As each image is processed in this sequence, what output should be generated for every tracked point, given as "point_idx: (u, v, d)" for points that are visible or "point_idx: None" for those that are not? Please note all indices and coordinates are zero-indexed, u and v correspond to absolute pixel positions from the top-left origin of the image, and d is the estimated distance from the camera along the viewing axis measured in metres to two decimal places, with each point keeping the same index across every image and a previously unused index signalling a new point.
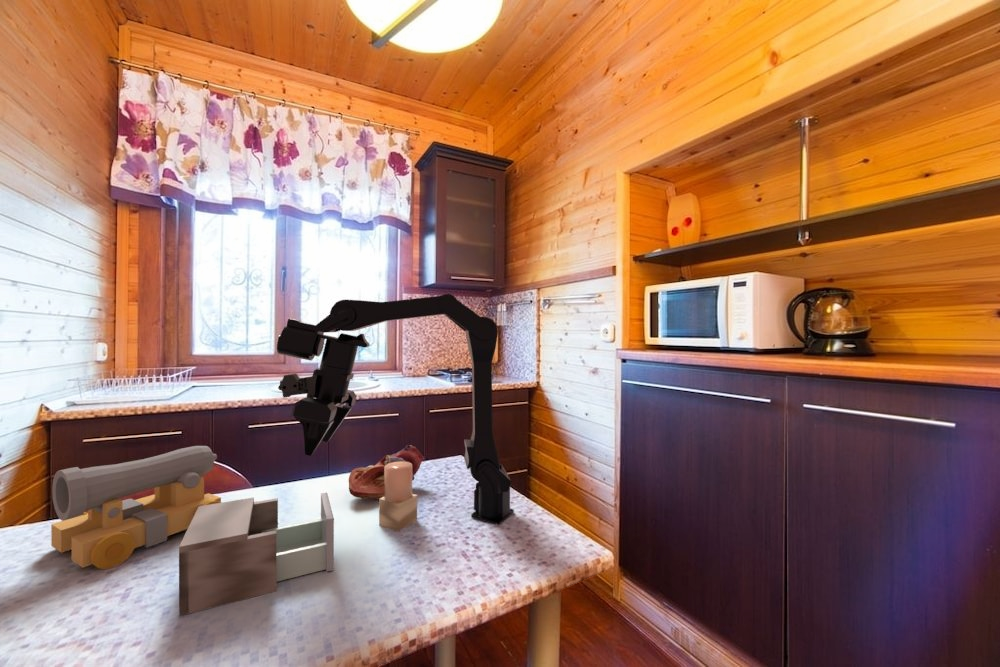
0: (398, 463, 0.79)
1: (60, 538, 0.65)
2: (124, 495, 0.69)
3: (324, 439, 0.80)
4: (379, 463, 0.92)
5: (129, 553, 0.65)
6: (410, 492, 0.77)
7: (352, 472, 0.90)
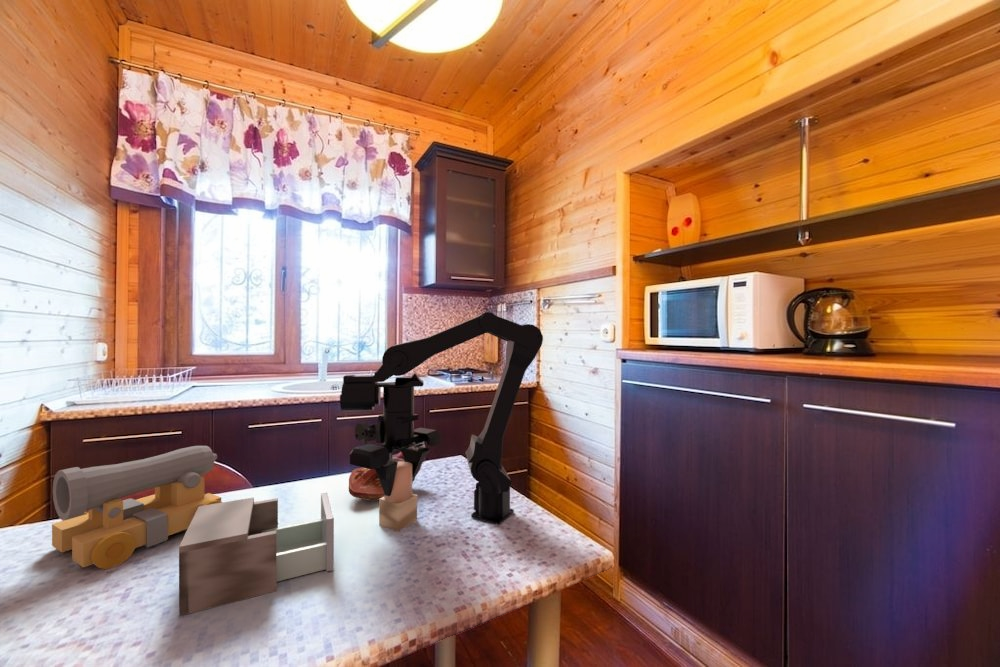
0: (398, 463, 0.79)
1: (61, 538, 0.65)
2: (125, 495, 0.69)
3: None
4: None
5: (130, 553, 0.65)
6: (410, 492, 0.77)
7: (352, 472, 0.90)
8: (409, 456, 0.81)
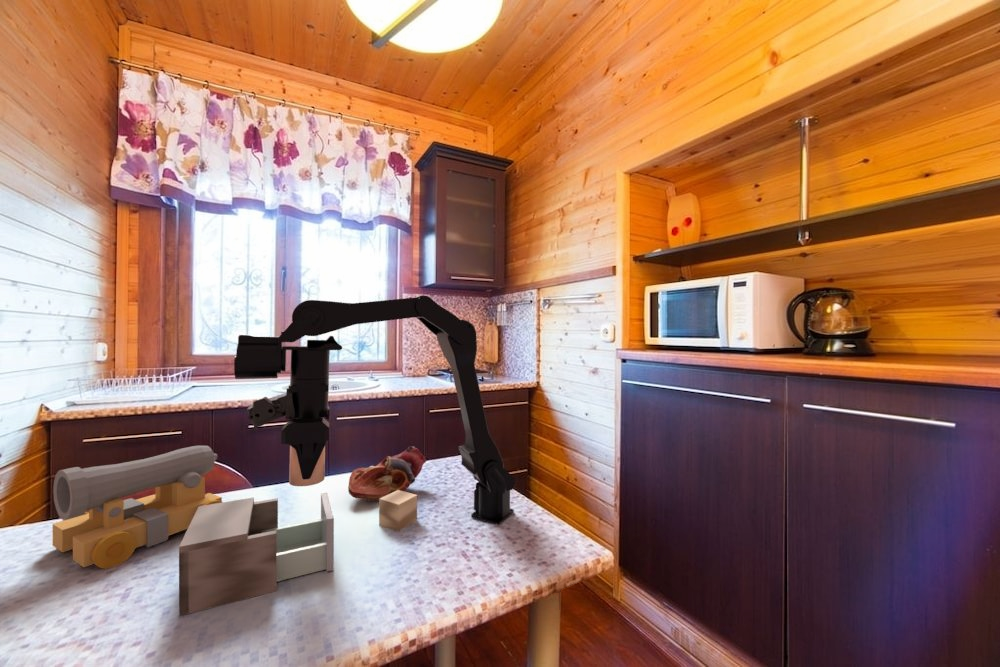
0: None
1: (61, 537, 0.65)
2: (125, 495, 0.69)
3: None
4: (380, 464, 0.92)
5: (130, 552, 0.65)
6: None
7: (353, 472, 0.90)
8: None
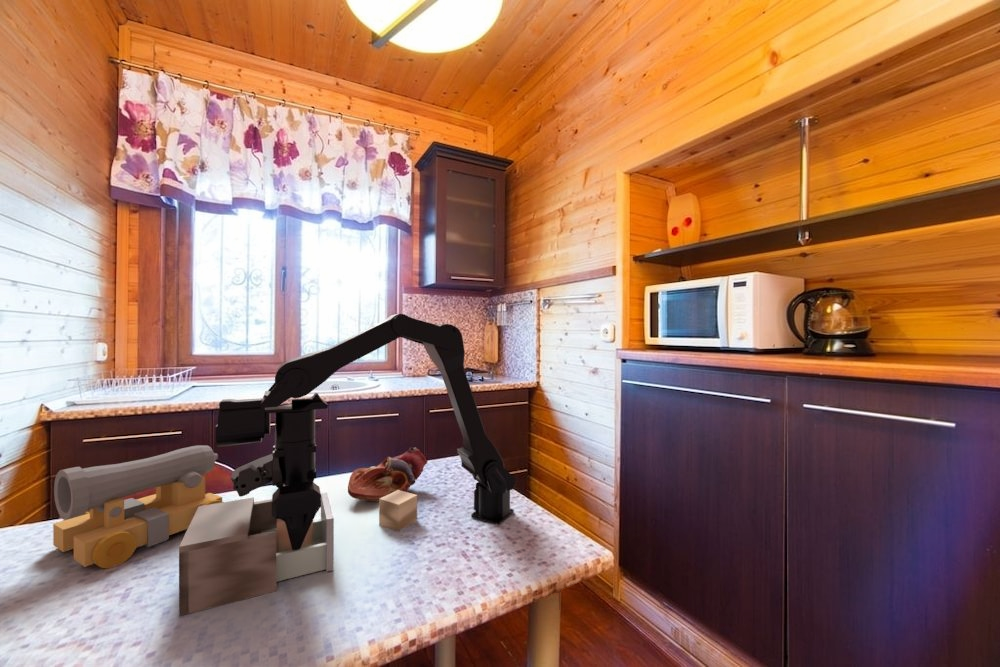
0: None
1: (62, 537, 0.65)
2: (126, 495, 0.69)
3: None
4: (381, 464, 0.91)
5: (131, 552, 0.65)
6: None
7: (353, 472, 0.90)
8: None
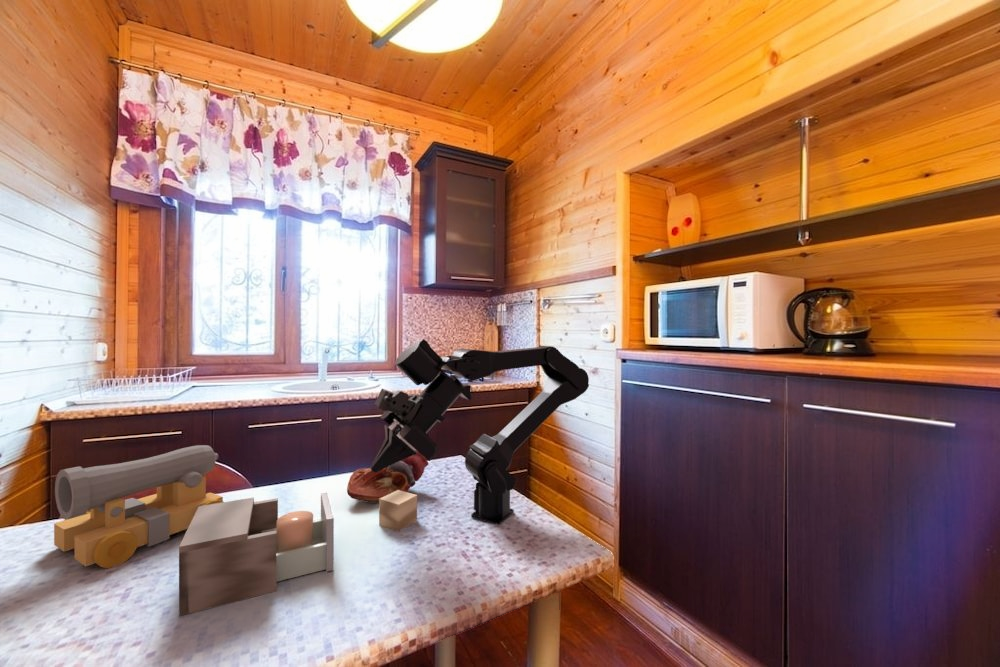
0: (288, 516, 0.65)
1: (63, 537, 0.65)
2: (126, 494, 0.69)
3: None
4: None
5: (132, 552, 0.65)
6: None
7: (354, 472, 0.89)
8: None
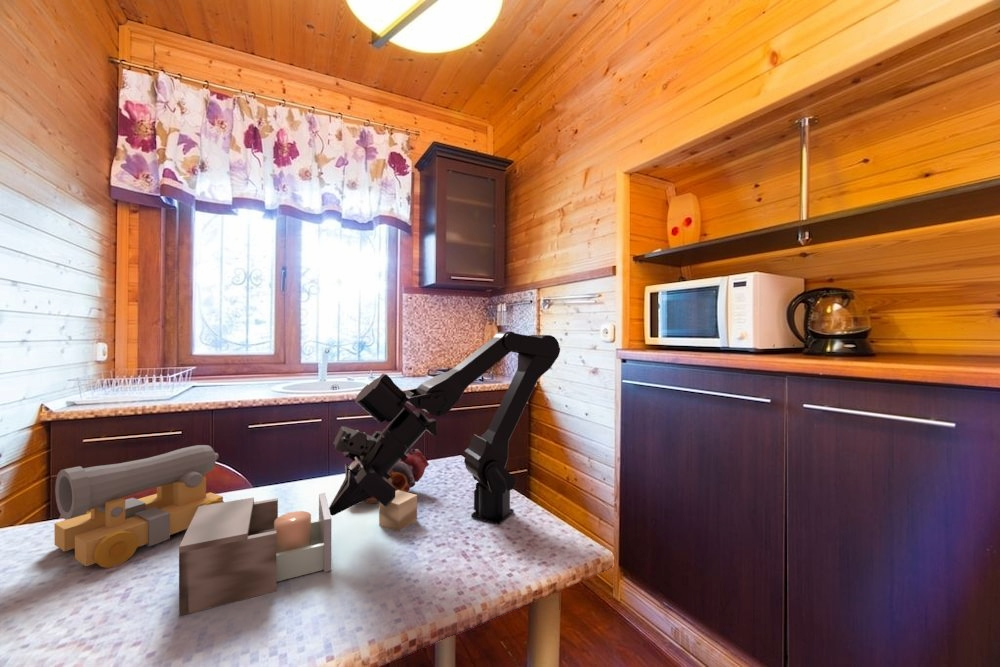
0: (285, 517, 0.65)
1: (63, 537, 0.65)
2: (127, 494, 0.69)
3: None
4: None
5: (132, 551, 0.65)
6: None
7: None
8: None
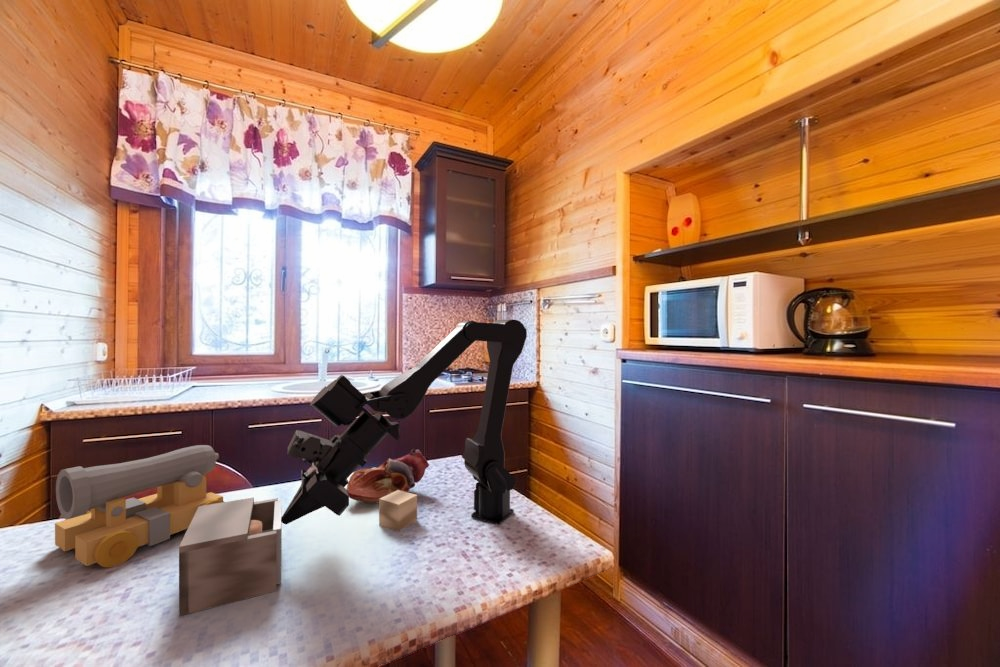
0: None
1: (64, 537, 0.66)
2: (127, 494, 0.69)
3: None
4: (381, 466, 0.90)
5: (133, 551, 0.65)
6: None
7: (354, 473, 0.89)
8: None
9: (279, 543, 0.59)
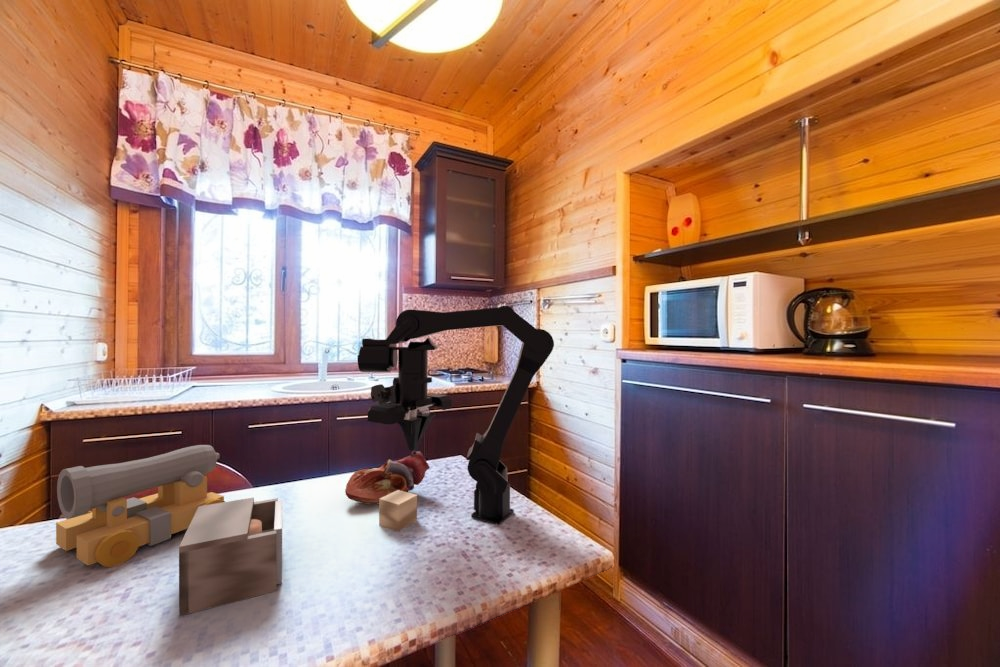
0: None
1: (65, 536, 0.66)
2: (128, 494, 0.69)
3: None
4: (381, 467, 0.90)
5: (134, 551, 0.65)
6: None
7: (355, 473, 0.89)
8: None
9: (280, 543, 0.59)
